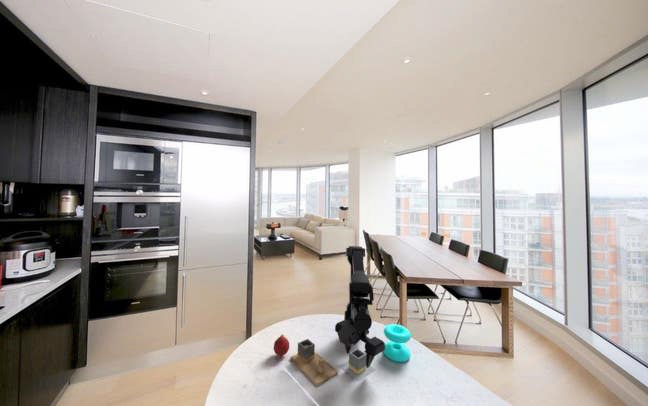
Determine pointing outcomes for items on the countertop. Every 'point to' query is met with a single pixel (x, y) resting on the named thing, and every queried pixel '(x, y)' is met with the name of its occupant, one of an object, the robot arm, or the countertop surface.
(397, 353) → the donuts
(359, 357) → the sleeve
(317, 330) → the countertop surface
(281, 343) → the onion
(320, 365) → the pin board
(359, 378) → the mat
